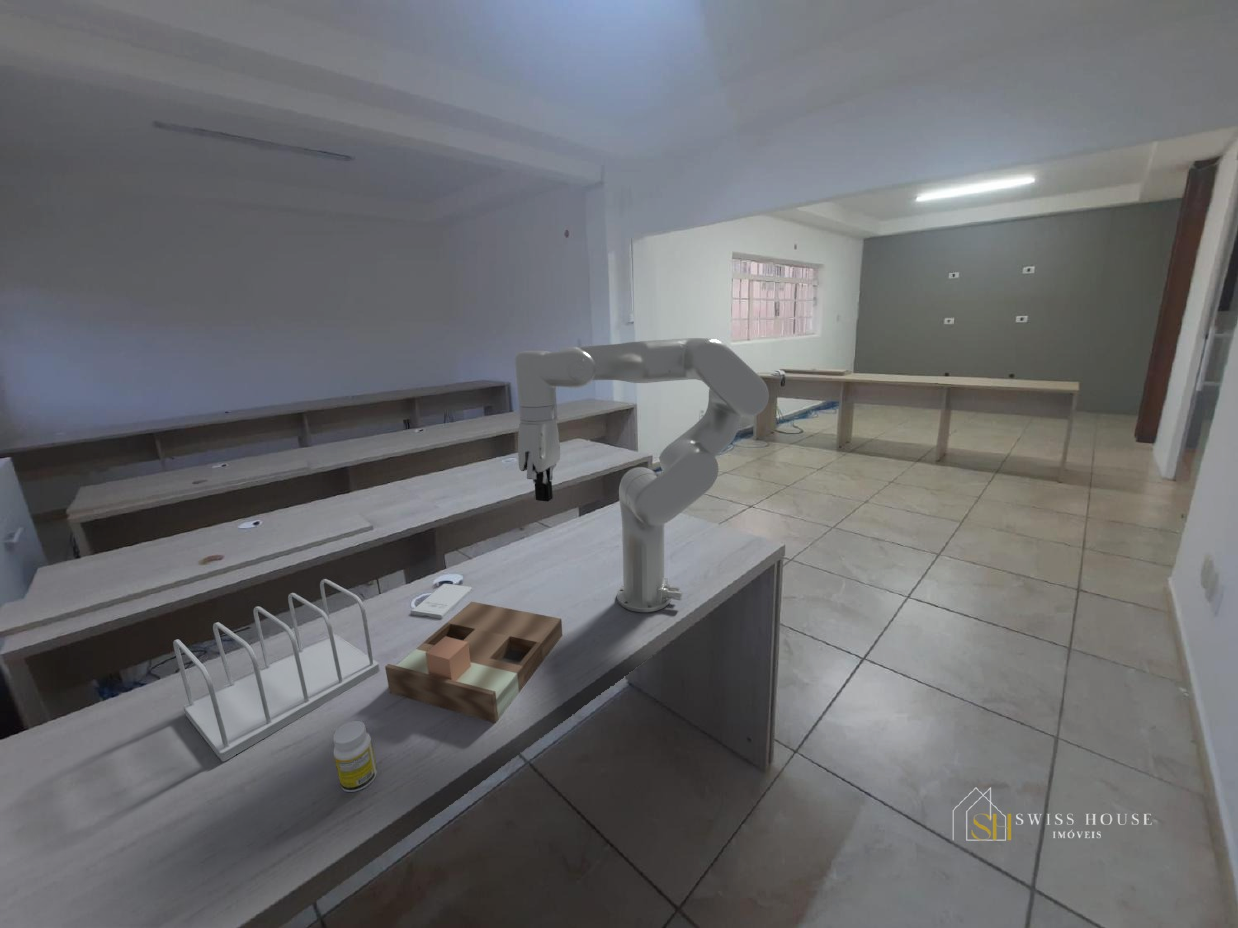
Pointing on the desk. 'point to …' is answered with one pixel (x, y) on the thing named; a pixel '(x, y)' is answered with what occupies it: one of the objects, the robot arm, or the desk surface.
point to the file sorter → (275, 683)
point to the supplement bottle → (354, 756)
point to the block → (448, 658)
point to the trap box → (480, 660)
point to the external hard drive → (442, 601)
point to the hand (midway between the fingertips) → (544, 499)
